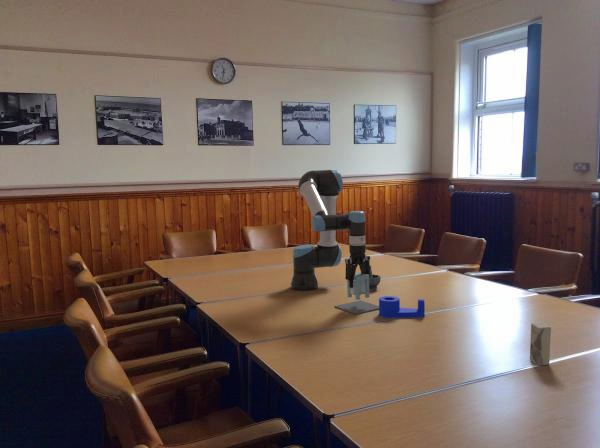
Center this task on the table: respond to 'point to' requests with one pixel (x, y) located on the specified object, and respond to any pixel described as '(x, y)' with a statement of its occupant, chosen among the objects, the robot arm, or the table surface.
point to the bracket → (391, 308)
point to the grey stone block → (540, 343)
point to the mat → (358, 307)
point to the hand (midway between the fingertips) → (358, 293)
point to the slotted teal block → (359, 285)
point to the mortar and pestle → (373, 281)
